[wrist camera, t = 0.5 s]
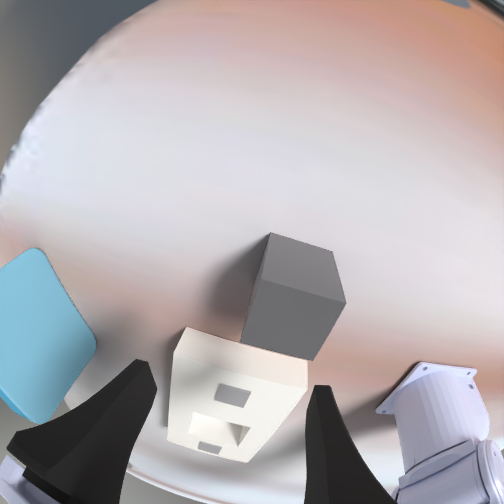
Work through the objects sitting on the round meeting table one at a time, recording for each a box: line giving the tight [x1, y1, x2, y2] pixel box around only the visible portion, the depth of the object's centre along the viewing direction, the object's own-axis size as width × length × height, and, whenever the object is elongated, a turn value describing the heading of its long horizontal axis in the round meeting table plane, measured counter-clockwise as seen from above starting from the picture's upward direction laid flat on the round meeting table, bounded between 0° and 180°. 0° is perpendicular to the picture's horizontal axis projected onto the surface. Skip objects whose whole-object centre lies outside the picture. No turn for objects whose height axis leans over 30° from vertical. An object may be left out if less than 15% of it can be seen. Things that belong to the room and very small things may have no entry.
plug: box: [240, 233, 346, 361], centre depth 15 cm, size 4×4×6 cm
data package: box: [0, 248, 96, 424], centre depth 17 cm, size 12×4×12 cm, turn 21°
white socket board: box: [167, 327, 307, 463], centre depth 23 cm, size 10×18×3 cm, turn 165°
